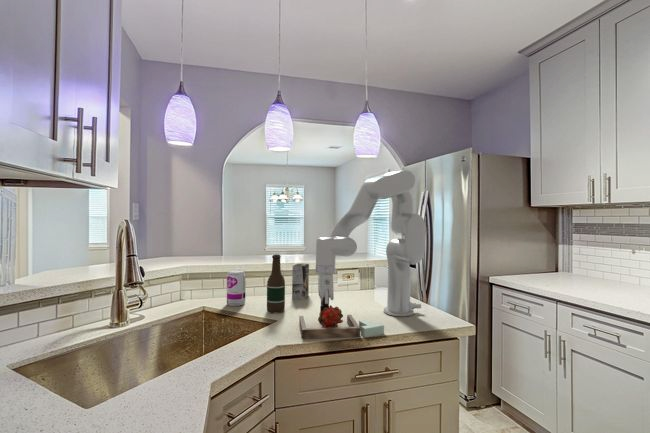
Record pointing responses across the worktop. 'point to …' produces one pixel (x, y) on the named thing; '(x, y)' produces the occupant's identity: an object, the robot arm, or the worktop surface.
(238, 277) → the supplement can
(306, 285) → the coffee box
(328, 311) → the dragon fruit
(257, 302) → the worktop surface
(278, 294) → the beer bottle
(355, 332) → the bay
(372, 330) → the t block
